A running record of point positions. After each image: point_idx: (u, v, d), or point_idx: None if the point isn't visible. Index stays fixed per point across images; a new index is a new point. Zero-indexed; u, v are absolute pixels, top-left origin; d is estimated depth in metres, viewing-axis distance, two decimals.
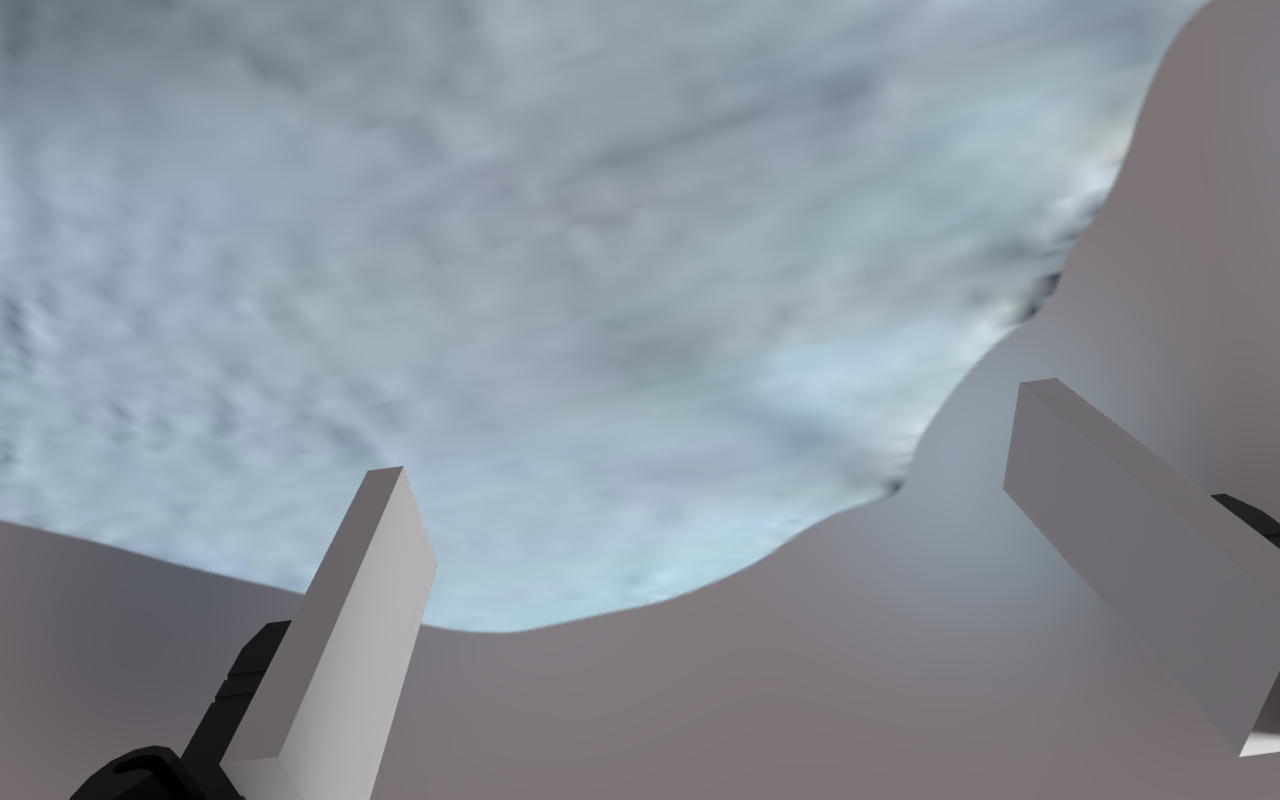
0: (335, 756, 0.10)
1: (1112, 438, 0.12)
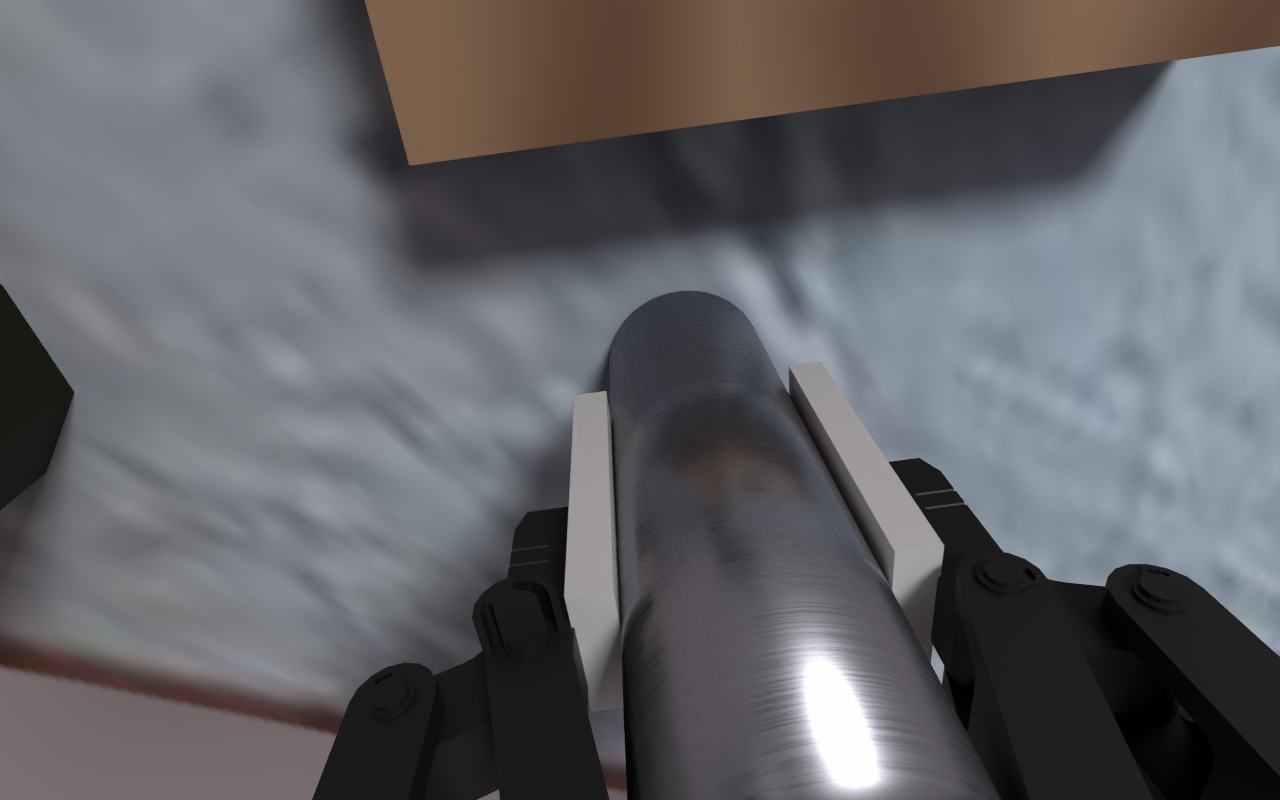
0: None
1: (836, 411, 0.14)
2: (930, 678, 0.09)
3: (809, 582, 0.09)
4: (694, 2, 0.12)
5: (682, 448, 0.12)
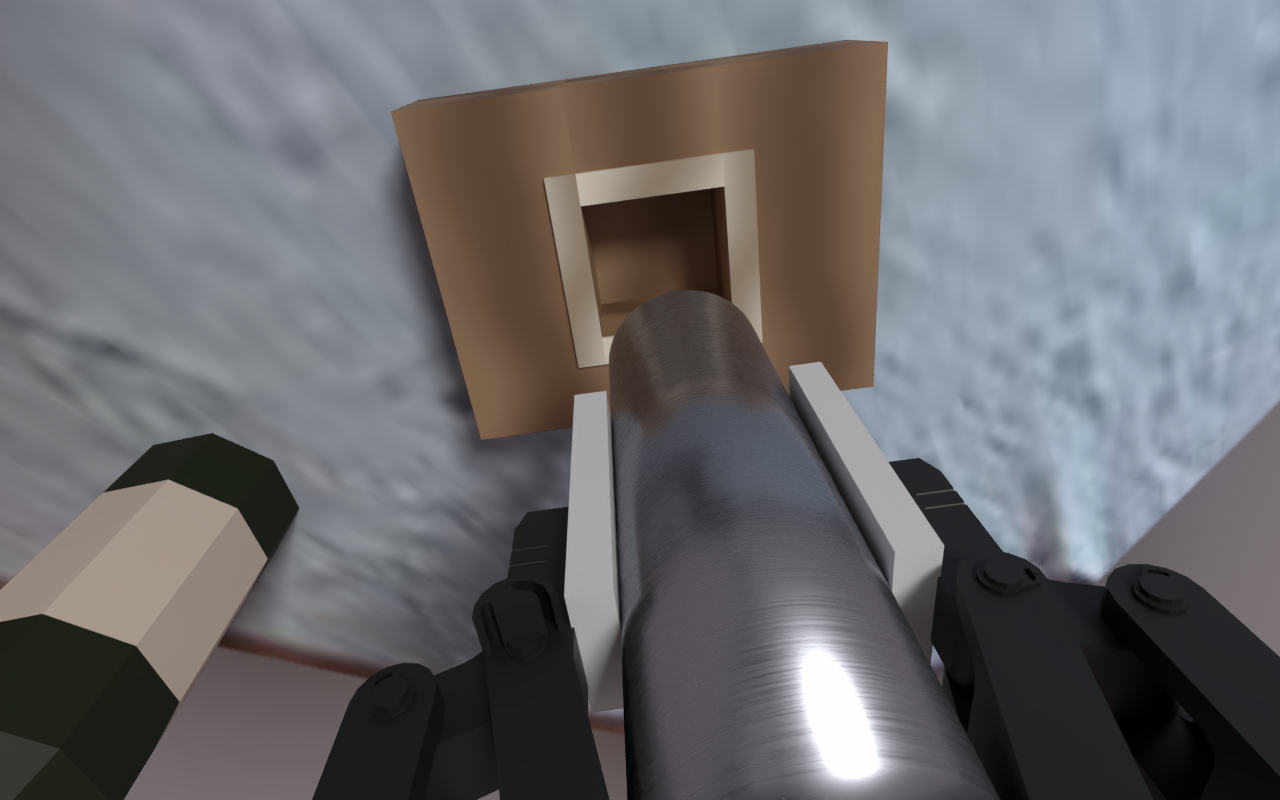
0: None
1: (836, 412, 0.14)
2: (925, 670, 0.09)
3: (806, 576, 0.09)
4: (592, 385, 0.31)
5: (682, 445, 0.12)
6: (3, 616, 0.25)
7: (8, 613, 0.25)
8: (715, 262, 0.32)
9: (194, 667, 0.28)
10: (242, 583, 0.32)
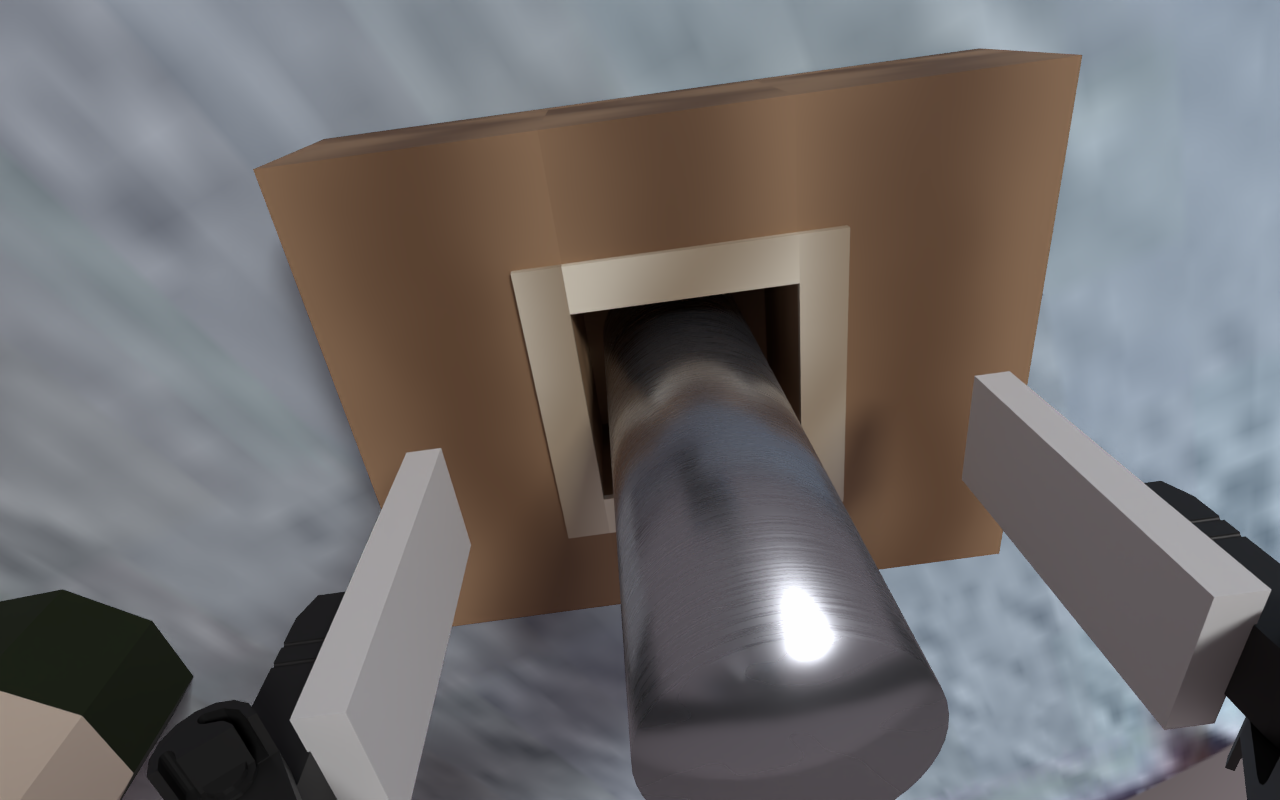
0: (391, 717, 0.11)
1: (1056, 428, 0.13)
2: (875, 575, 0.10)
3: (777, 502, 0.11)
4: (589, 558, 0.21)
5: (670, 401, 0.14)
6: None
7: None
8: None
9: None
10: None
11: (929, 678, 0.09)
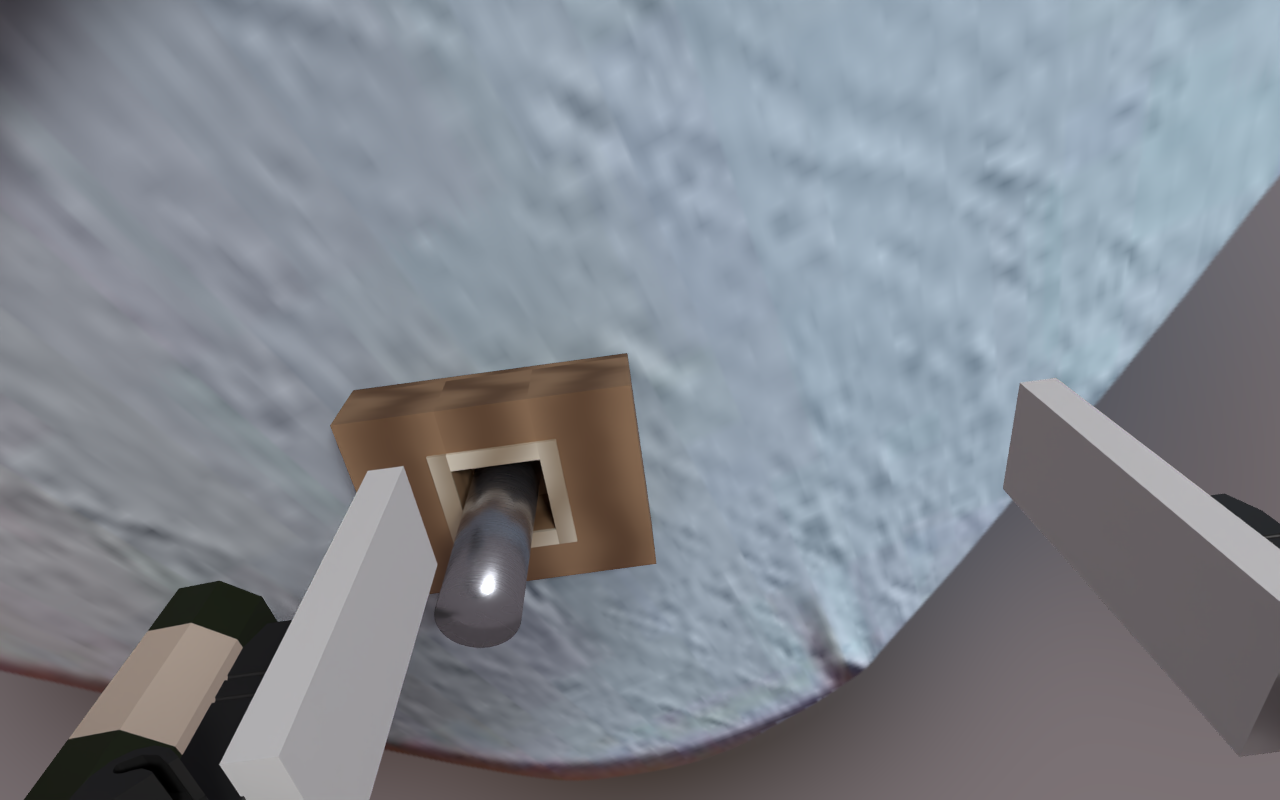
0: (335, 756, 0.10)
1: (1112, 438, 0.12)
2: (509, 571, 0.36)
3: (486, 549, 0.37)
4: None
5: (474, 510, 0.40)
6: (95, 730, 0.41)
7: (98, 728, 0.41)
8: None
9: None
10: None
11: (508, 597, 0.35)
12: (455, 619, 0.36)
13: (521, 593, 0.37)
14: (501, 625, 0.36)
